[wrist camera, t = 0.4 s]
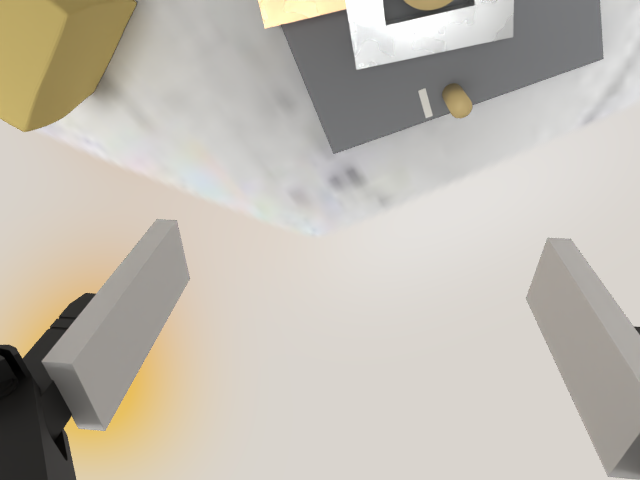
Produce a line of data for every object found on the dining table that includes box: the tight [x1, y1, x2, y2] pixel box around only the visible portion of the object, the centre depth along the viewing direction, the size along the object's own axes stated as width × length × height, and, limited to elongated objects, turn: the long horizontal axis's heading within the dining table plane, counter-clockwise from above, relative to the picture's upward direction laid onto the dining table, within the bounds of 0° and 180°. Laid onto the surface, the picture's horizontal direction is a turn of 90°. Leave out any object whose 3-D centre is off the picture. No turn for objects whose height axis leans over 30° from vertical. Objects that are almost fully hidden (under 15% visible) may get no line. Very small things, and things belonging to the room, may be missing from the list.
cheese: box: [0, 0, 137, 132], centre depth 31 cm, size 10×11×10 cm
